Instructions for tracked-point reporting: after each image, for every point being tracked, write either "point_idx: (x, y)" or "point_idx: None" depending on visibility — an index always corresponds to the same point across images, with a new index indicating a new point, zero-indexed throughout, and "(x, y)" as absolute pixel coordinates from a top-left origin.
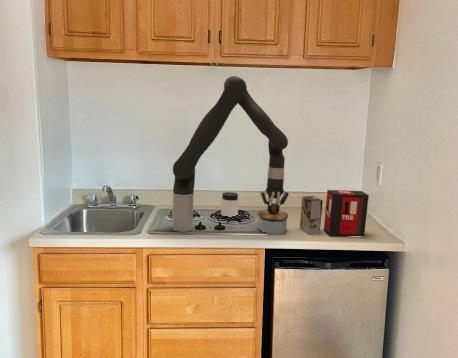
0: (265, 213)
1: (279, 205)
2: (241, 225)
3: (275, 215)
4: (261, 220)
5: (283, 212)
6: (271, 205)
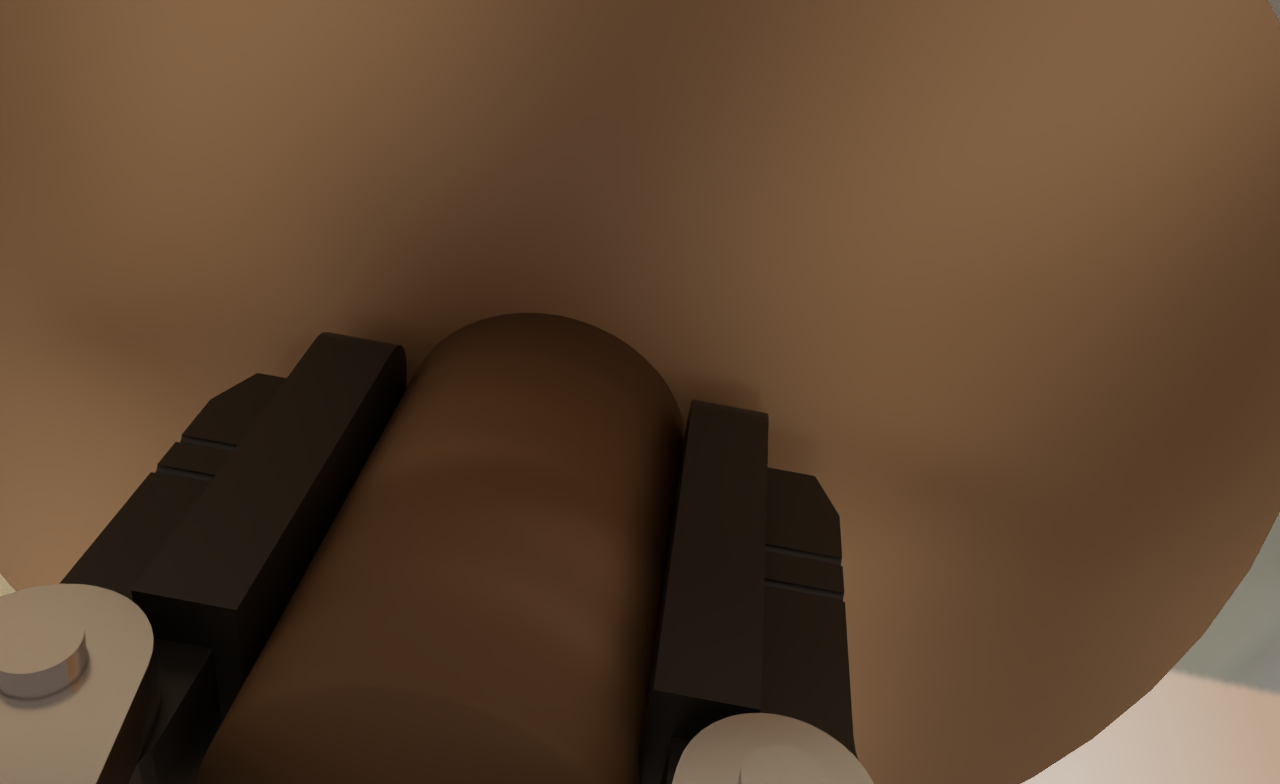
0: (917, 502)
1: (39, 595)
2: (1212, 641)
3: (574, 85)
4: None
5: (16, 452)
6: (624, 753)
